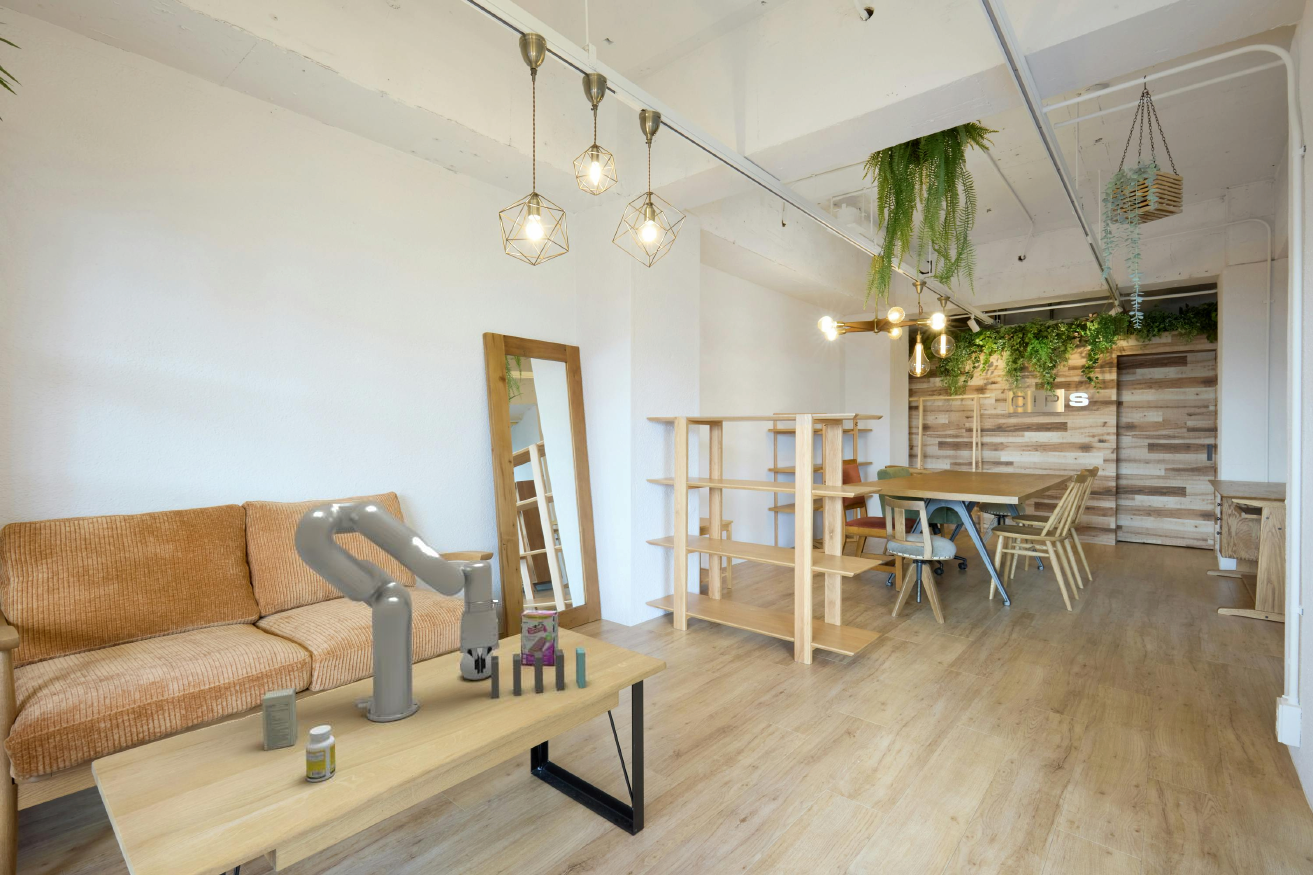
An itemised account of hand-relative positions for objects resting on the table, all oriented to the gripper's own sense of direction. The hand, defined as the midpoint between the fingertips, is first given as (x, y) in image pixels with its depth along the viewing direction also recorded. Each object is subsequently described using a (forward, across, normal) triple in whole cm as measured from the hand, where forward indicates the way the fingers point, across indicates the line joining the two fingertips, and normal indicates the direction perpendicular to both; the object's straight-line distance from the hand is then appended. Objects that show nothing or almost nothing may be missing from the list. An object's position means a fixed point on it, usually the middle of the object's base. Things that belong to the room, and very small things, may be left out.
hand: (480, 671), depth 167 cm
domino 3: (+7, -16, 0) cm, 17 cm away
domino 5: (+7, -28, 0) cm, 29 cm away
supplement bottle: (+6, +32, +32) cm, 46 cm away
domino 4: (+7, -22, 0) cm, 23 cm away
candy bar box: (+7, -18, -21) cm, 28 cm away
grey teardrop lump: (+7, +1, -16) cm, 17 cm away
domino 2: (+7, -10, 0) cm, 12 cm away
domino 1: (+7, -4, 0) cm, 8 cm away
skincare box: (+6, +45, +14) cm, 48 cm away
